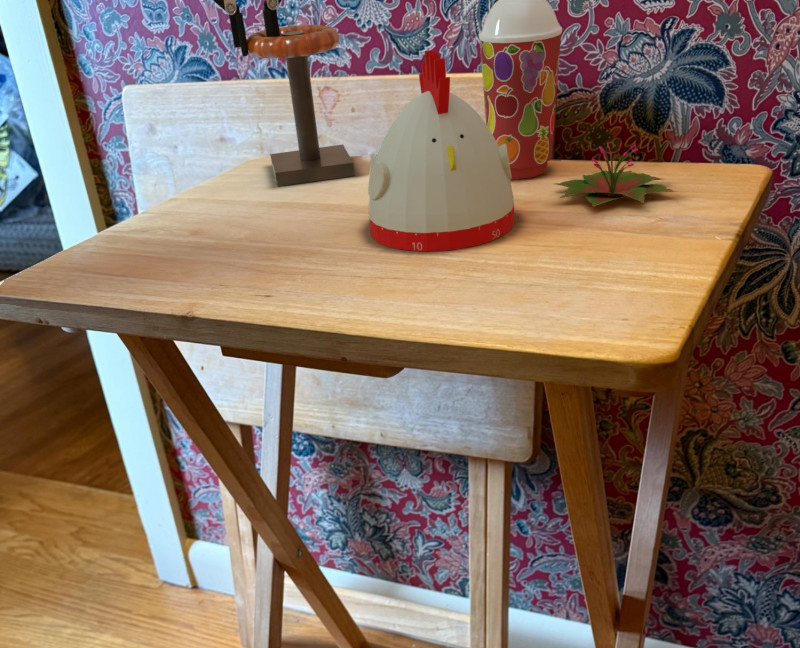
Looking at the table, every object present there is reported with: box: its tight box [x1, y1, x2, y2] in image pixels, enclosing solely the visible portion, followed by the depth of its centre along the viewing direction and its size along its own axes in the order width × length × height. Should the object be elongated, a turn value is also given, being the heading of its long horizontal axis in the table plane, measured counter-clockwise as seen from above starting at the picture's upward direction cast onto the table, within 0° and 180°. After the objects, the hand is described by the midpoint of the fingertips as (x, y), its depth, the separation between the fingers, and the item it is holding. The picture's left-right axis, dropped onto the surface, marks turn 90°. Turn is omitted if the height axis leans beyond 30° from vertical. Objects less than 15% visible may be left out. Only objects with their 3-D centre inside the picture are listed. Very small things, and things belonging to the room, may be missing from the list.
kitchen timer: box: [367, 49, 515, 252], centre depth 81 cm, size 14×14×15 cm
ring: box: [246, 24, 340, 59], centre depth 97 cm, size 10×10×2 cm
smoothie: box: [477, 0, 563, 180], centre depth 92 cm, size 8×8×20 cm
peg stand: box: [269, 31, 356, 187], centre depth 101 cm, size 9×9×14 cm
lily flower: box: [554, 141, 678, 208], centre depth 88 cm, size 12×12×5 cm
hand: (258, 51), depth 97 cm, fingers closed on ring, 2 cm apart
